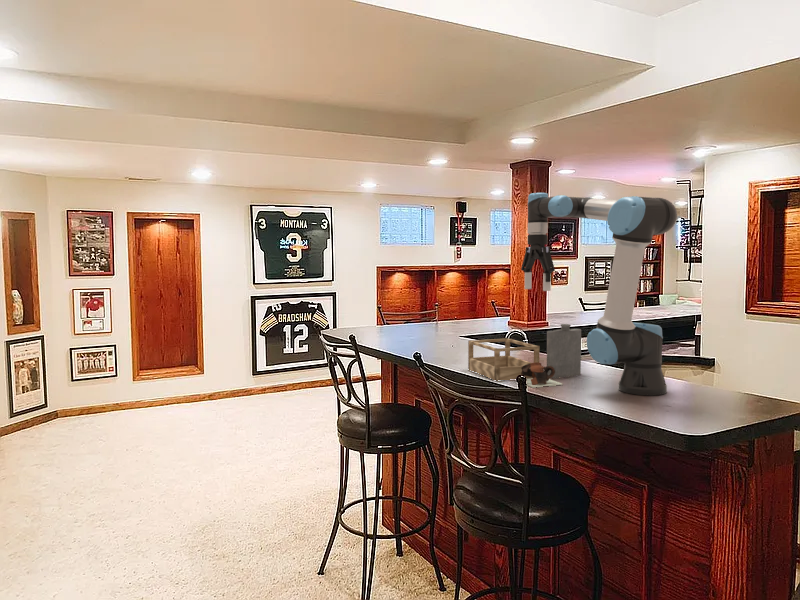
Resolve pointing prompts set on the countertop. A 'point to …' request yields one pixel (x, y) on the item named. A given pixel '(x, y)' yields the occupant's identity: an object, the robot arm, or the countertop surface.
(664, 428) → the countertop surface
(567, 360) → the hip flask
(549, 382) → the sage board
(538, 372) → the pottery mug
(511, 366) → the oak crate
